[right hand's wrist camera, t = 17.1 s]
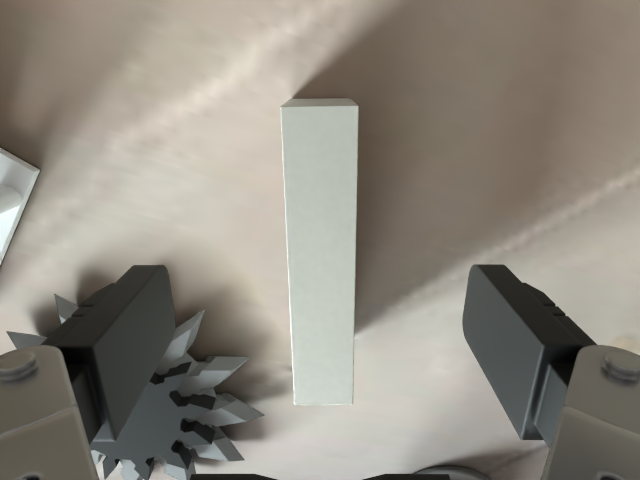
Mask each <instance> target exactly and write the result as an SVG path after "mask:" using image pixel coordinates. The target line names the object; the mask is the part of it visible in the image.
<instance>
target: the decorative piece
mask: <svg viewBox="0 0 640 480" xmlns="http://www.w3.org/2000/svg"><path fill="white" fill-rule="evenodd" d="M55 299H56V304H57V308H58V313H59V317H60V321H61V324H62V323H63V322H64V321H66V320H67V319H68V318H69V317H71V316H72V314H73V313H74V312H75V311H76V310H77V309H78V308H79V307H78V306H76V305H75V304H73V303H71V302H69V301H67V300H65V299H64V298H62V297H60V296H58V295H56V294H55ZM204 311H205V309H204V310H202V311H201V312H199V313H198V314H196V315H195V316H193V317H192V318H190V319H189V320H187V321H186V322H184V323H183V324H181V325H180V326H178V327H177V328H175V331H174V336H173V339H172V341H171V343H170V345H169V347H168V349H167V350H166V352H165V354H164V356H163V357H162V359H161V361H160V363H159V365H158V366H157V368H156V370H155V372H154V374H153V375H152V377H151V379H150V381H149V382H148V384H147V386H146V388H145V390H144V391H143V393H142V395H141V397H140V399H139V400H138V402H137V404H136V406H135V408H134V409H133V411H132V413H131V415H130V416H129V418H128V420H127V422H126V424H125V425H124V427H123V429H122V431H121V433H120V434H119V436H118V438H117V440H116V441H92V443H91V444H90V450H91V453H92V457H93V460H94V463H95V465H96V464H98V463H99V461H100V459H101V457H102V456H103V455H105V456H106V457H105V459H104V461H103V470H104V479H106V478H107V477H108V476H109V474H110V473H111V472H112V471H113V470H114V469H115V467H116V466H117V464H118V462H119V460H120V462H121V464H122V466H123V468H122V469H121V470H120V473H121V474H122V476H123V478H124V479H125V480H142V479H145V480H149V478H150V475H151V473H152V471H153V467H154V462H156V461H159V462H160V463H161V464H162V465H163V467H164V468H165V470H164V473H166V474H168V475H170V476H172V477H174V478H176V479H177V480H190V477H191V474H196V471H195V466H194V461H193V458H192V454H191V451H190V449H192V448H195V450H196V452H197V454H198V456H199V457H204V458H211V459H217V460H223V461H240V460H244V458H243V457H242V456H241V454H240V453H239V452H238V450H237V449H236V448H235V446H234V445H233V444H232V443H231V441H230V440H229V439H228V437H227V436H226V435H225V434H224V432H223V431H222V430H221V429H220V427H219V426H224V425H229V424H235V423H240V422H246V421H249V420H252V419H255V418H258V417H261V416H264V414H262V413H261V412H259V411H258V410H256V409H254V408H253V407H251V406H250V405H248V404H246V403H244V402H242V401H240V400H239V399H237V398H235V397H233V396H231V395H229V394H228V393H226V392H225V393H223V394H220V395H219V394H216V393H215V391H214V387H215V386H217V385H218V384H219V383H221V382H222V381H224V380H225V379H226V378H228V377H229V376H230V375H231V374H232V373H234V372H235V371H236V370H237V369H238V368H239V367H240V366H242V365H243V364H244V363H245V362H246V361H247V360H248V359H250V358H251V357H239V356H207V358H206V360H205V361H201V362H196V361H195V360H194V359H193V358H192V357H191V356H190V355H189V354H188V353H186V351H187V350H188V349H189V347H190V346H191V345H192V343H193V342H194V341H195V338H196V335H197V332H198V329H199V326H200V323H201V320H202V317H203V314H204ZM6 332H7V334H8V335H9V337H10V338H11V340H12V342H13V343H14V345H15V347H16V348H17V349H20V348H23V347H28V346H35V345H41V344H42V343H43V342H44V341H45V340H46V339H47V338H48V337H43V336H37V335H32V334H24V333H16V332H8V331H6Z"/></svg>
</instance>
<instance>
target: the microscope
mask: <svg viewBox="0 0 640 480" xmlns="http://www.w3.org/2000/svg"><path fill="white" fill-rule="evenodd" d="M39 172H40V170H39V169H37V168H35V167H34V166H32V165H30V164H28V163H26V162H25V161H23V160H21V159H19V158H18V157H16V156H14V155H12V154H11V153H9V152H7V151H5V150H3V149H2V148H0V265H1V263H2V260H3V258H4V255H5V253H6V251H7V248H8V246H9V243H10V241H11V239H12V236H13V234H14V231H15V229H16V227H17V224H18V222H19V219H20V217H21V215H22V212H23V210H24V208H25V205H26V203H27V200H28V198H29V196H30V193H31V191H32V188H33V186H34V184H35V181H36V179H37V176H38V174H39Z"/></svg>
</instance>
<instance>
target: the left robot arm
mask: <svg viewBox="0 0 640 480" xmlns="http://www.w3.org/2000/svg"><path fill="white" fill-rule="evenodd" d="M414 474H449V477H450V480H490V479H489V478H488V477H486V476H485V475H483V474H481V473H479V472H477V471H475V470H472V469H468V468H464V467H457V466H441V467H434V468H429V469H425V470H422V471H419V472H417V473H414Z"/></svg>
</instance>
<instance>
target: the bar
mask: <svg viewBox="0 0 640 480" xmlns="http://www.w3.org/2000/svg"><path fill="white" fill-rule="evenodd" d="M358 124H359V105H357V104H356V103H355V102H353V101H352V100H351V99H349V98H320V99H290V100H288V101H287V102H286V103H285V104H283V105H282V106H281V128H282V149H283V171H284V192H285V214H286V235H287V257H288V278H289V299H290V321H291V342H292V364H293V385H294V405H352V404H353V375H354V324H355V274H356V224H357V174H358Z"/></svg>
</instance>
